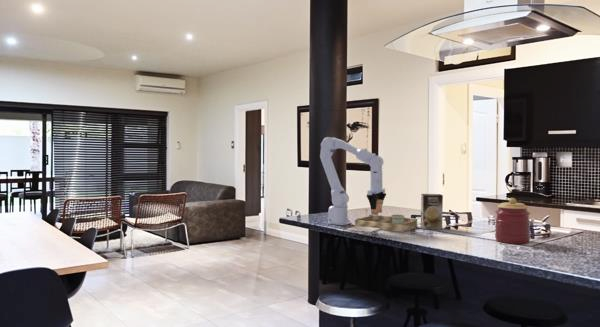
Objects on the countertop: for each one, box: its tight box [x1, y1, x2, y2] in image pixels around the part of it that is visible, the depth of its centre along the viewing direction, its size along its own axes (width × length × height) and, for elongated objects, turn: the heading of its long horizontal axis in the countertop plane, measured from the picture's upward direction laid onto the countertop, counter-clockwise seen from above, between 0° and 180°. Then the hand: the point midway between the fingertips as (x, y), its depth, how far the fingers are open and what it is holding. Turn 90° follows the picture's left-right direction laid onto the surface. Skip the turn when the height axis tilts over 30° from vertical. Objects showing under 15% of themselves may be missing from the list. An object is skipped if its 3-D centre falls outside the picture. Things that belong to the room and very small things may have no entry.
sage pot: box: [391, 214, 405, 225], centre depth 220 cm, size 6×6×6 cm
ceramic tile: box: [347, 226, 381, 233], centre depth 216 cm, size 12×9×1 cm
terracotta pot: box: [370, 199, 384, 214], centre depth 226 cm, size 6×6×6 cm
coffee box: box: [420, 193, 444, 230], centre depth 219 cm, size 9×6×16 cm
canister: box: [494, 197, 531, 245], centre depth 188 cm, size 13×13×18 cm
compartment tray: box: [354, 214, 418, 232], centre depth 224 cm, size 25×15×4 cm, turn 52°
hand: (376, 208), depth 226 cm, fingers closed on terracotta pot, 6 cm apart
